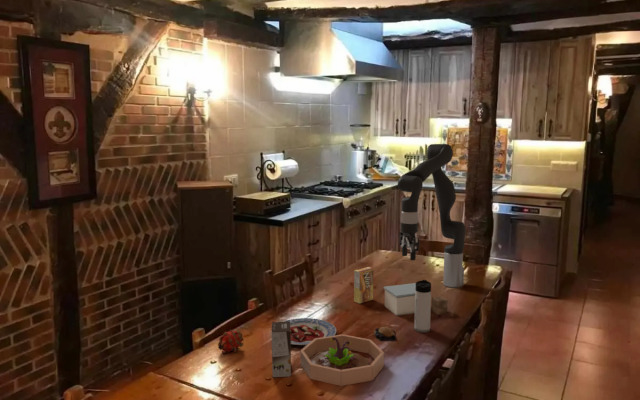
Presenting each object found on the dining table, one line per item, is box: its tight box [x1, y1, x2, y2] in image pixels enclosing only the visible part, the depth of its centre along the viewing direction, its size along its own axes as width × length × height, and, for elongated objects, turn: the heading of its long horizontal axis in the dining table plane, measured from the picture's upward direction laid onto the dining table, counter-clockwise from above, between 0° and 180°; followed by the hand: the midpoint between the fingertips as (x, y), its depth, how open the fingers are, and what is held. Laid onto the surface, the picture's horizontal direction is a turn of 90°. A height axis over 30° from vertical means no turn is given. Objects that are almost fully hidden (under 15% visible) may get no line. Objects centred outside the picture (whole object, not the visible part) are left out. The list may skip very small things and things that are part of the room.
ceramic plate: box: [270, 317, 337, 346], centre depth 212 cm, size 26×26×3 cm
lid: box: [382, 282, 416, 297], centre depth 239 cm, size 17×13×1 cm
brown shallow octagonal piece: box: [300, 333, 385, 387], centre depth 186 cm, size 27×27×5 cm
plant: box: [310, 337, 371, 370], centre depth 184 cm, size 20×20×11 cm
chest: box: [384, 289, 415, 316], centre depth 239 cm, size 16×12×8 cm
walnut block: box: [431, 295, 449, 315], centre depth 236 cm, size 5×5×6 cm
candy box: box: [353, 266, 374, 304], centre depth 249 cm, size 9×4×15 cm, turn 129°
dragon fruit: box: [217, 329, 245, 354], centre depth 198 cm, size 8×8×12 cm
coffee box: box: [271, 320, 292, 378], centre depth 181 cm, size 9×6×16 cm
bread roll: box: [374, 326, 397, 342], centre depth 211 cm, size 11×8×4 cm
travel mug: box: [413, 279, 432, 333], centre depth 215 cm, size 6×7×20 cm
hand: (408, 257), depth 235 cm, fingers open, 7 cm apart
